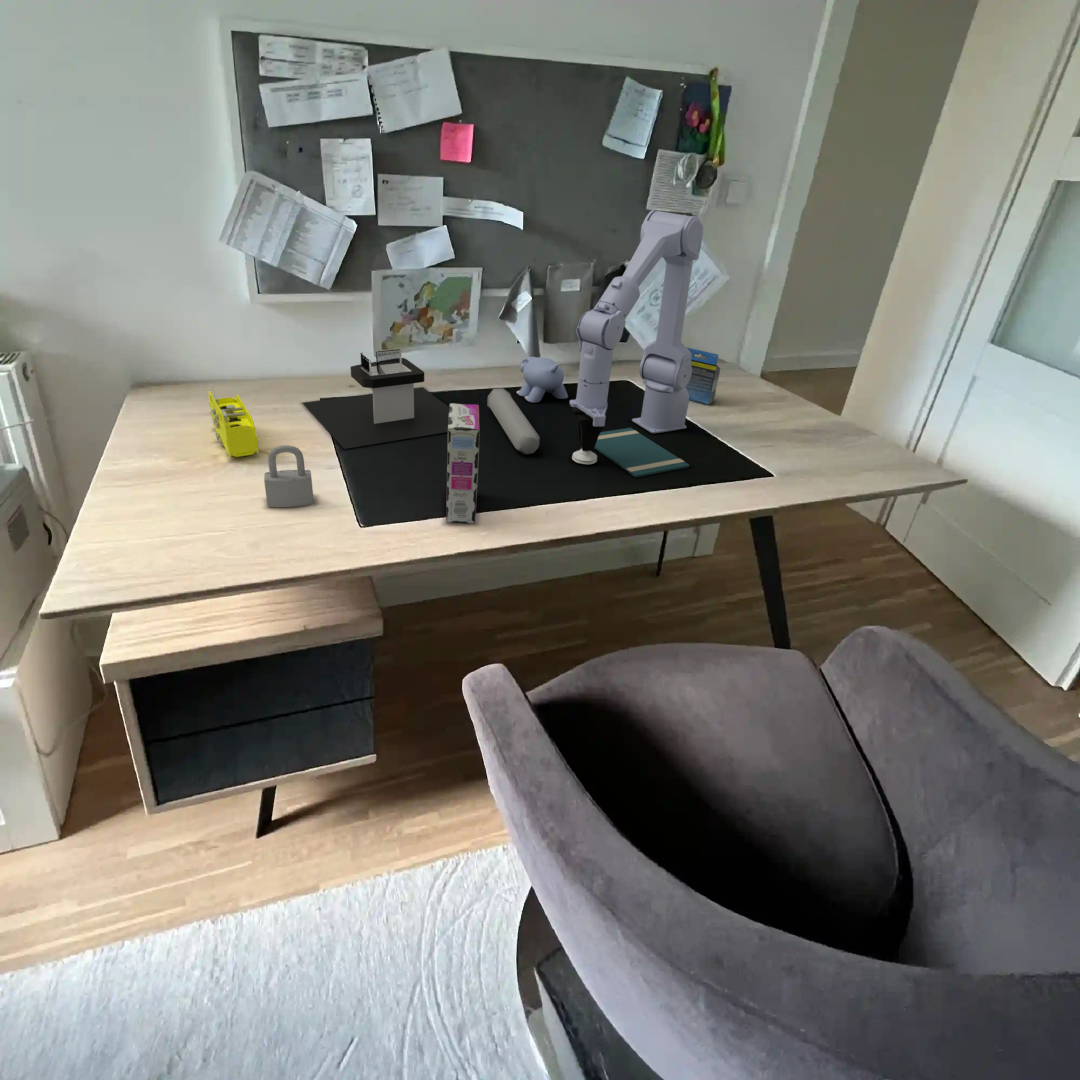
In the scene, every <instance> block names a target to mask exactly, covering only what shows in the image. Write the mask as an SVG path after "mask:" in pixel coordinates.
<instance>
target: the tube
mask: <svg viewBox="0 0 1080 1080" xmlns="http://www.w3.org/2000/svg"><path fill="white" fill-rule="evenodd" d="M486 403H487V405H486V406H487V407H488V408H490V410H491V412H492V413H493V415H494V417H495V418H496V419H497V421H498V423H499V425H500V426H501V428H502V429H503V431H504V433H505V434H506V436H507V437H508V439H509V441H510V442H511V444H512V445H513V447H514V448H515V450H516V451H518V452H519V453H521V454H522V455H533V454H534V453H535V452H536V451H537V450H538V449H539V447H540V439H541V437H540V435H539V434H538V433H537V431H536V430H535V428H534V427H533V426H532V424H531V423H530V421H529V420H528V419H527V417H526V415H525V414H524V413H523V411H522V410H521V409H520V407H519V406H518V404H517V403H516V402H515V400H514V399H513V397H512V395H511V393H510V392H509V391H507V390H506V389H505V388H493V389H492V390H491V391H490V393H489V394H488V395H487V402H486Z"/></svg>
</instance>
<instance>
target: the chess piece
mask: <svg viewBox="0 0 1080 1080" xmlns="http://www.w3.org/2000/svg"><path fill="white" fill-rule="evenodd" d="M571 460H572V461H574V463H577V464H581V465H594V464H595V463H597V462H598V455H597V454H596V453H595V452H593V451H583V450H582V447H581V448H580V449H579V450H576V451H574V452H573V453H572V456H571Z"/></svg>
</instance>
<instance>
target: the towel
mask: <svg viewBox="0 0 1080 1080" xmlns="http://www.w3.org/2000/svg"><path fill="white" fill-rule="evenodd" d="M594 449H595V450H596V451H597V452H599V453H600V454H601V455H603V456H605V457H606V458H608V459H609V460H610V461H611V462H613V463H614V464H616V465H617V466H619V467H620V468H621V469H623V470H624V471H626V472H627V473H629V474H630V475H631V476H632V477H634V478H640V477H646V476H651V475H656V474H661V473H666V472H671V471H677V470H683V469H687V468H690V464H689V463H687V461H684V460H683V459H682V458H679V457H678V456H676V455H675V454H673V453H671V452H670V451H669V450H667V449H665V448H664V447H662V446H660V445H659V444H657V443H656V442H654V441H652V440H651V439H649V438H648V437H647V436H645V435H643V434H642V433H640V432H638V431H637V430H636V429H634V428H632V427H625V428H619V429H613V430H606V431H601V433H600V435H599V437H598V439H597V442H596V445H595V448H594Z"/></svg>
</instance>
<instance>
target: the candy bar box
mask: <svg viewBox="0 0 1080 1080" xmlns="http://www.w3.org/2000/svg"><path fill="white" fill-rule="evenodd" d="M479 406H480V405H479V404H474V403H449V419H448V432H447V456H446V457H447V461H446V466H447V467H446V502H445V503H446V508H445V509H446V511H445V514H446V515H445V523H447V524H461V525H475V524H476V516H477V515H476V514H477V499H478V482H479V481H478V480H479V462H480V461H479V459H480V435H481V434H480V407H479Z"/></svg>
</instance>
